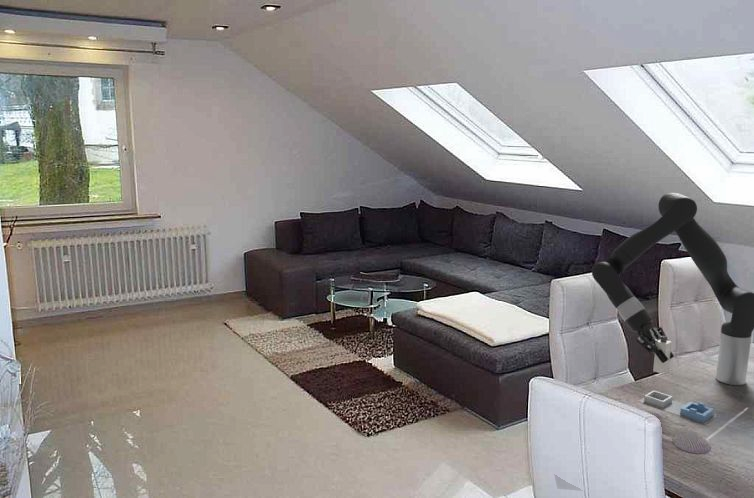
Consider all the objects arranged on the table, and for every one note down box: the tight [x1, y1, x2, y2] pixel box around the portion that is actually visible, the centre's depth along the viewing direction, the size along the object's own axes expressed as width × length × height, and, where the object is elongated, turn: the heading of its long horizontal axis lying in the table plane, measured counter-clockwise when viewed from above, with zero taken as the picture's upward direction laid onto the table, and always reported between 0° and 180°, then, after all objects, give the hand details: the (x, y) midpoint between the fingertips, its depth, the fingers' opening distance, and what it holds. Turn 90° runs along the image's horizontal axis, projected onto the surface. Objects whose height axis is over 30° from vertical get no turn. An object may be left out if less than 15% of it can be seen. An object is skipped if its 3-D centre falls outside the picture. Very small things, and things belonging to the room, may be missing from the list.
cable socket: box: [637, 390, 719, 425], centre depth 194 cm, size 21×9×4 cm, turn 41°
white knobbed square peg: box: [652, 335, 672, 375], centre depth 196 cm, size 3×3×12 cm
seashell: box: [671, 427, 712, 455], centre depth 174 cm, size 10×6×10 cm
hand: (668, 359), depth 195 cm, fingers closed on white knobbed square peg, 3 cm apart
